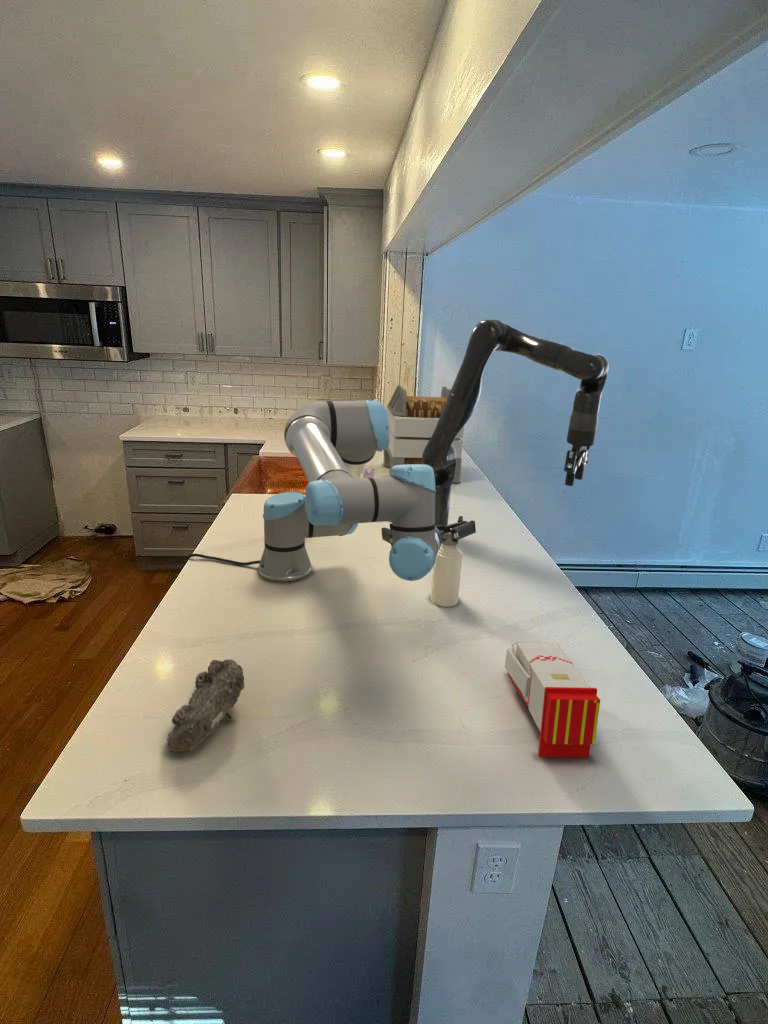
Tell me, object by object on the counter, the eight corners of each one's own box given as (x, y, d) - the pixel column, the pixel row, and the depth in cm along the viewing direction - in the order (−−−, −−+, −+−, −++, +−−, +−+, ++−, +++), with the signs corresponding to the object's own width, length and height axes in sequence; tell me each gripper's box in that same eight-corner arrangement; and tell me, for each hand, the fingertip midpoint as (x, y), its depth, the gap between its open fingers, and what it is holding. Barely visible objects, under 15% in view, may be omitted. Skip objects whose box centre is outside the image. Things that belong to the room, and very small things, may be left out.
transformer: (382, 463, 289) (386, 382, 275) (445, 464, 293) (451, 384, 279) (390, 482, 257) (394, 392, 243) (460, 483, 261) (468, 394, 247)
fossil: (192, 660, 117) (244, 628, 112) (224, 691, 120) (276, 661, 115) (142, 746, 98) (202, 712, 93) (182, 779, 101) (242, 748, 96)
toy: (553, 625, 127) (610, 695, 97) (548, 680, 129) (601, 765, 100) (500, 624, 126) (540, 694, 97) (495, 679, 129) (533, 764, 100)
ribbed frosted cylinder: (429, 604, 153) (434, 539, 147) (432, 591, 160) (437, 529, 154) (456, 608, 152) (463, 543, 145) (459, 595, 159) (465, 532, 152)
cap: (440, 545, 148) (440, 536, 148) (442, 538, 153) (442, 530, 152) (457, 547, 148) (458, 538, 147) (458, 540, 152) (459, 532, 151)
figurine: (365, 510, 221) (366, 473, 215) (354, 502, 229) (355, 466, 224) (386, 507, 225) (388, 471, 220) (375, 500, 233) (376, 464, 228)
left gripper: (359, 566, 112) (379, 544, 132) (488, 557, 107) (488, 536, 127) (355, 528, 111) (376, 512, 131) (484, 518, 106) (485, 503, 126)
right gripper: (577, 422, 167) (568, 474, 173) (561, 428, 156) (552, 484, 162) (603, 425, 163) (593, 479, 169) (588, 433, 152) (578, 490, 158)
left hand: (431, 524), depth 129 cm, fingers open, 13 cm apart
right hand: (573, 482), depth 165 cm, fingers open, 8 cm apart
